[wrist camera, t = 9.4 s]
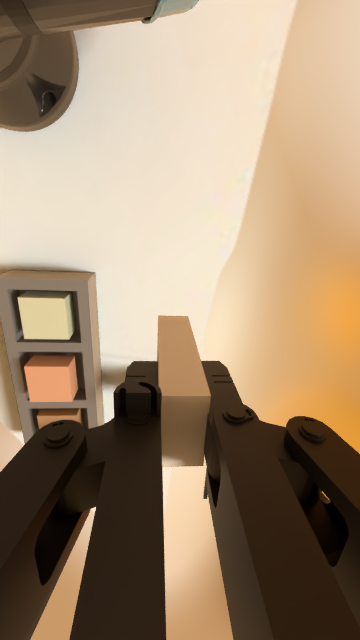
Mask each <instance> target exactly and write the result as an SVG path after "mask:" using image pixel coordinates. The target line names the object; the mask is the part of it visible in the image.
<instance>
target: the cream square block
mask: <svg viewBox="0 0 360 640" xmlns="http://www.w3.org/2000/svg"><path fill="white" fill-rule="evenodd" d="M17 298H18V304H19V310H20V316H21V322H22V328H23V334H24V339H70V337H71V336H72V334H73V333H74V331H75V325H74V314H73V303H72V292H48V291H27V292H25V293H24V294H22V295H21V296H19V297H17Z"/></svg>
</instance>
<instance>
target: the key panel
mask: <svg viewBox="0 0 360 640" xmlns="http://www.w3.org/2000/svg"><path fill="white" fill-rule="evenodd" d="M27 291H48V292H72V303H73V314H74V325H75V331H74V333H73V334H72V336H71V337H70V339H24V334H23V328H22V322H21V316H20V310H19V304H18V298H17V297H19V296H21V295H22V294H24V293H25V292H27ZM0 318H1V323H2V329H3V334H4V339H5V344H6V349H7V354H8V360H9V365H10V370H11V375H12V380H13V385H14V390H15V396H16V401H17V406H18V411H19V416H20V421H21V427H22V432H23V437H24V442H25V444H26V443H27V442H28V440H29V439H30V438H31V437H32V436H33V435H34V434H35V433H36V432H37V431H38V430H39V425H38V419H37V415H38V413H39V412H40V410H41V408H82V412H83V423H84V428H85V430H86V429H90V428H94V427H98V426H100V425H103V424H104V410H103V393H102V376H101V359H100V343H99V326H98V309H97V292H96V275H95V273H88V272H58V271H28V270H10V271H7V272H5V273H3V274H0ZM33 355H42V356H75V364H76V375H77V385H78V390H77V392H76V394H75V397H74V399H73V401H72V402H30V398H29V392H28V387H27V381H26V375H25V369H24V366H25V365H26V364H27V362H28V361H29V360H30V359H31V358H32V357H33Z"/></svg>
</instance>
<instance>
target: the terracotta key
mask: <svg viewBox="0 0 360 640" xmlns="http://www.w3.org/2000/svg"><path fill="white" fill-rule="evenodd" d="M24 369H25V375H26V381H27V387H28V392H29V398H30V402H72V401H73V399H74V397H75V394H76V392H77V390H78V385H77V375H76V364H75V356H42V355H33V357H32V358H31V359H30V360H29V361H28V362H27V364H26V365H25V366H24Z"/></svg>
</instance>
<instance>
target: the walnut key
mask: <svg viewBox="0 0 360 640" xmlns="http://www.w3.org/2000/svg"><path fill="white" fill-rule="evenodd" d="M37 419H38V425H39V429H41V428H42V427H43V426H45V425H47V424H49V423H51V422H54V421H59V420H74V421H77V422H80V423H81V424H82V425H83V426H84V423H83V412H82V408H41V410H40V412H39V413H38V415H37Z"/></svg>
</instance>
